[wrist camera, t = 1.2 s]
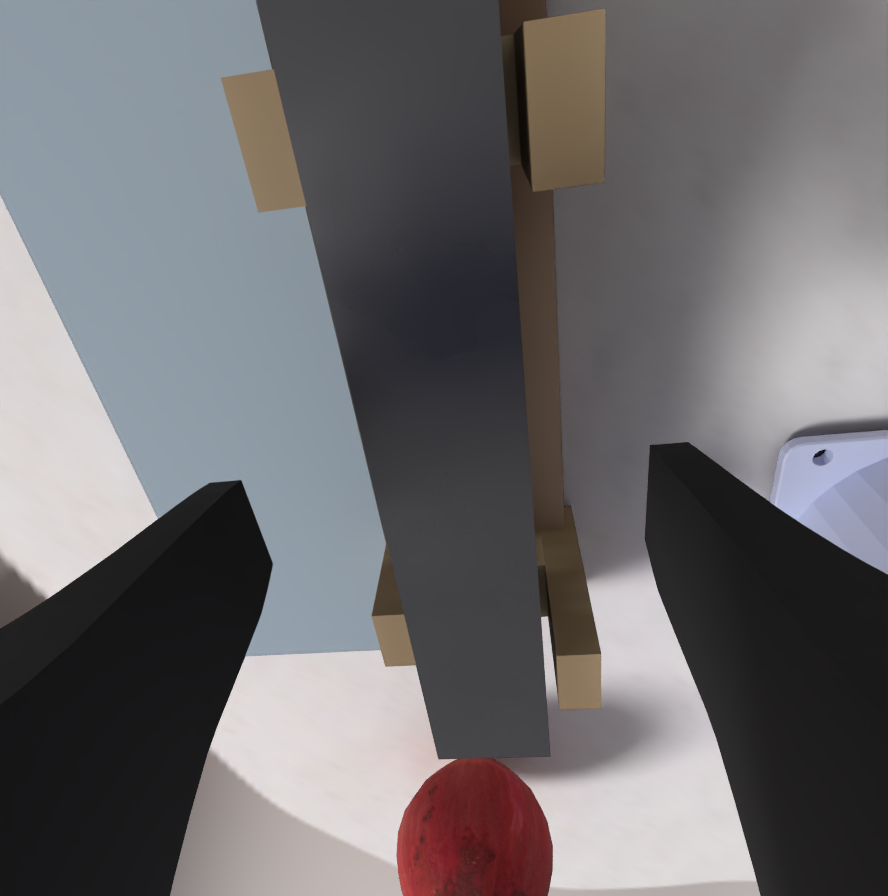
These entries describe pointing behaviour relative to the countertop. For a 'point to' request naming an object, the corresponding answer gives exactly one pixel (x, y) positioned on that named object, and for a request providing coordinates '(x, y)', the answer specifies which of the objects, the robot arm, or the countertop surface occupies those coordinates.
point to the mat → (191, 288)
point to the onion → (474, 835)
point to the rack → (532, 182)
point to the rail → (428, 332)
